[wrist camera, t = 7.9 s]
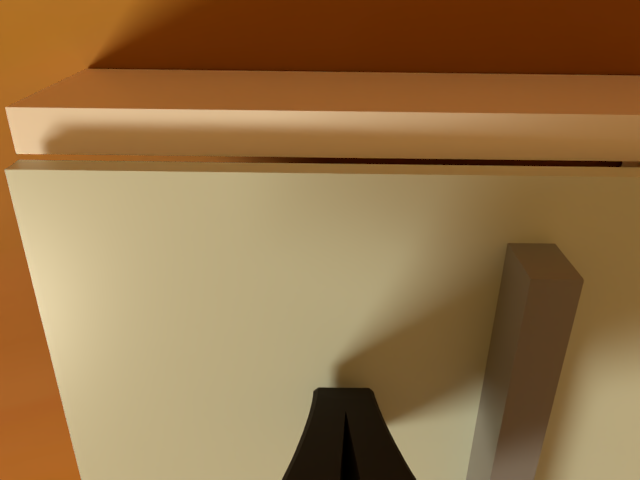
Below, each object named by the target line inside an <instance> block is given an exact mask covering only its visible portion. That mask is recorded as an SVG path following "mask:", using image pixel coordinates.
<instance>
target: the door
mask: <svg viewBox="0 0 640 480" xmlns="http://www.w3.org/2000/svg"><path fill="white" fill-rule="evenodd" d="M4 170H5V174H6V178H7V182H8V186H9V190H10V194H11V198H12V202H13V206H14V210H15V214H16V218H17V222H18V226H19V230H20V234H21V238H22V242H23V246H24V250H25V254H26V258H27V262H28V267H29V271H30V275H31V279H32V283H33V287H34V291H35V295H36V299H37V303H38V307H39V311H40V315H41V319H42V323H43V327H44V331H45V335H46V339H47V343H48V347H49V351H50V355H51V359H52V363H53V368H54V372H55V376H56V380H57V384H58V388H59V392H60V396H61V400H62V404H63V408H64V412H65V416H66V420H67V424H68V428H69V432H70V436H71V440H72V444H73V448H74V452H75V456H76V460H77V464H78V468H79V473H80V477H81V480H282V478H283V476H284V474H285V472H286V470H287V468H288V466H289V464H290V462H291V460H292V457H293V455H294V453H295V450H296V448H297V445H298V443H299V440H300V438H301V435H302V433H303V430H304V427H305V424H306V421H307V418H308V415H309V412H310V408H311V403H312V398H313V391H314V390H315V389H317V388H318V387H328V388H370V389H371V390H372V391H373V392H374V394H375V398H376V401H377V403H378V406H379V409H380V411H381V414H382V416H383V418H384V420H385V423H386V425H387V427H388V429H389V431H390V433H391V435H392V437H393V439H394V441H395V443H396V445H397V447H398V448H399V450H400V452H401V454H402V456H403V458H404V459H405V461H406V463H407V465H408V466H409V468H410V470H411V471H412V473H413V475H414V476H415V478H416V480H640V167H562V166H481V165H399V164H317V163H235V162H154V161H72V160H18V161H16V162H15V163H13V164H12V165H10V166H9V167H7V168H6V169H4Z"/></svg>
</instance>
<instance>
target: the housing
mask: <svg viewBox="0 0 640 480" xmlns="http://www.w3.org/2000/svg"><path fill="white" fill-rule="evenodd" d="M5 109H6V113H7V117H8V121H9V126H10V130H11V134H12V138H13V143H14V147H15V151H16V154H78V155H160V156H242V157H323V158H405V159H487V160H568V161H622V165H621V167H640V75H562V74H481V73H400V72H318V71H237V70H156V69H84V70H82V71H80V72H78V73H76V74H74V75H72V76H70V77H67V78H65V79H63V80H61V81H59V82H57V83H55V84H53V85H51V86H49V87H46V88H44V89H42V90H40V91H38V92H36V93H34V94H32V95H30V96H28V97H26V98H23V99H21V100H19V101H17V102H15V103H13V104H11V105H9V106H7V107H5Z"/></svg>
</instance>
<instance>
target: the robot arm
mask: <svg viewBox="0 0 640 480" xmlns="http://www.w3.org/2000/svg"><path fill="white" fill-rule="evenodd" d="M282 480H416V478H415V476H414V475H413V473H412V471H411V470H410V468H409V466H408V465H407V463H406V461H405V459H404V458H403V456H402V454H401V452H400V450H399V448H398V447H397V445H396V443H395V441H394V439H393V437H392V435H391V433H390V431H389V429H388V427H387V425H386V423H385V420H384V418H383V416H382V414H381V411H380V409H379V406H378V403H377V401H376V398H375V394H374V392H373V391H372V390H371V389H370V388H328V387H318V388H317V389H315V390H314V391H313V398H312V403H311V408H310V412H309V415H308V418H307V421H306V424H305V427H304V430H303V433H302V435H301V438H300V440H299V443H298V445H297V448H296V450H295V453H294V455H293V457H292V460H291V462H290V464H289V466H288V468H287V470H286V472H285V474H284V476H283V478H282Z"/></svg>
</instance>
